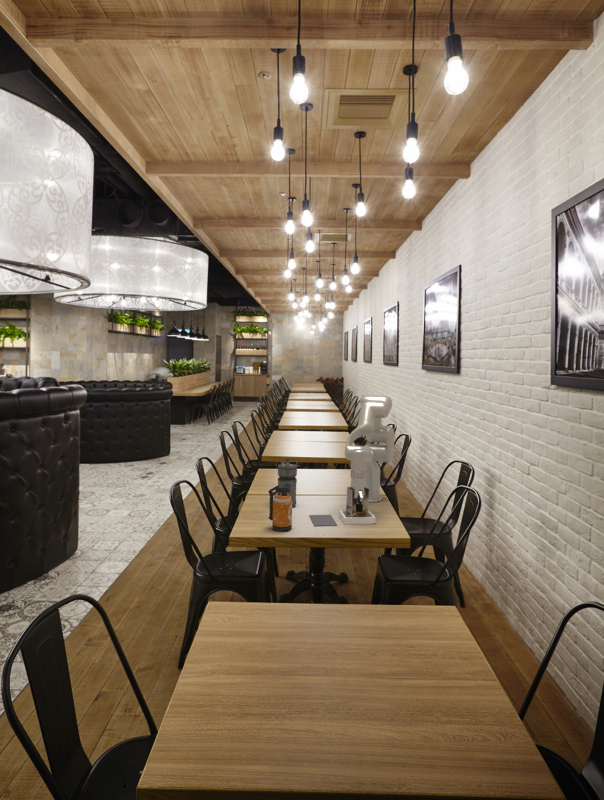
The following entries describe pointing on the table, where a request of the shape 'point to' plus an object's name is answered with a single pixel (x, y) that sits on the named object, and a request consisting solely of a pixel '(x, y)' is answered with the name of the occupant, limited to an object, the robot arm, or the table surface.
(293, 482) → the beverage bottle
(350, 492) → the coffee box
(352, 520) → the holder
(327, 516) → the mat
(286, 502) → the canister
